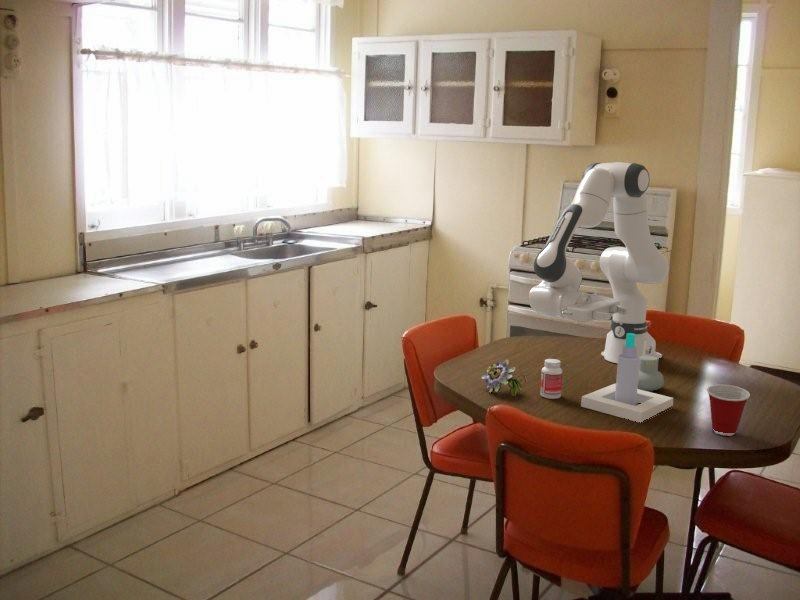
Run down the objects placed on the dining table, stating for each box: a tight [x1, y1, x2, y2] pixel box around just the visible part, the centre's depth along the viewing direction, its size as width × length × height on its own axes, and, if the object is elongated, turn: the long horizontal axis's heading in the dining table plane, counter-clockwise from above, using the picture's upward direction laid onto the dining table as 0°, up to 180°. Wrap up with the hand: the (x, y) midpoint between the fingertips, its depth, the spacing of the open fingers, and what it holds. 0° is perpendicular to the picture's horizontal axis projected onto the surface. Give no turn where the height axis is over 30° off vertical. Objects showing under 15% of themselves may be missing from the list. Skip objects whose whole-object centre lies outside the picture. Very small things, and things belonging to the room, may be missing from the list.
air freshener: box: [637, 355, 665, 392], centre depth 271 cm, size 11×8×10 cm
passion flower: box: [480, 359, 528, 398], centre depth 264 cm, size 11×11×12 cm
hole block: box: [580, 382, 674, 424], centre depth 253 cm, size 19×19×3 cm
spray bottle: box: [615, 333, 640, 406], centre depth 251 cm, size 6×6×22 cm
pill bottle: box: [540, 358, 563, 400], centre depth 261 cm, size 6×6×11 cm
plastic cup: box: [706, 383, 751, 433], centre depth 233 cm, size 11×11×12 cm
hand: (618, 314), depth 252 cm, fingers open, 8 cm apart
